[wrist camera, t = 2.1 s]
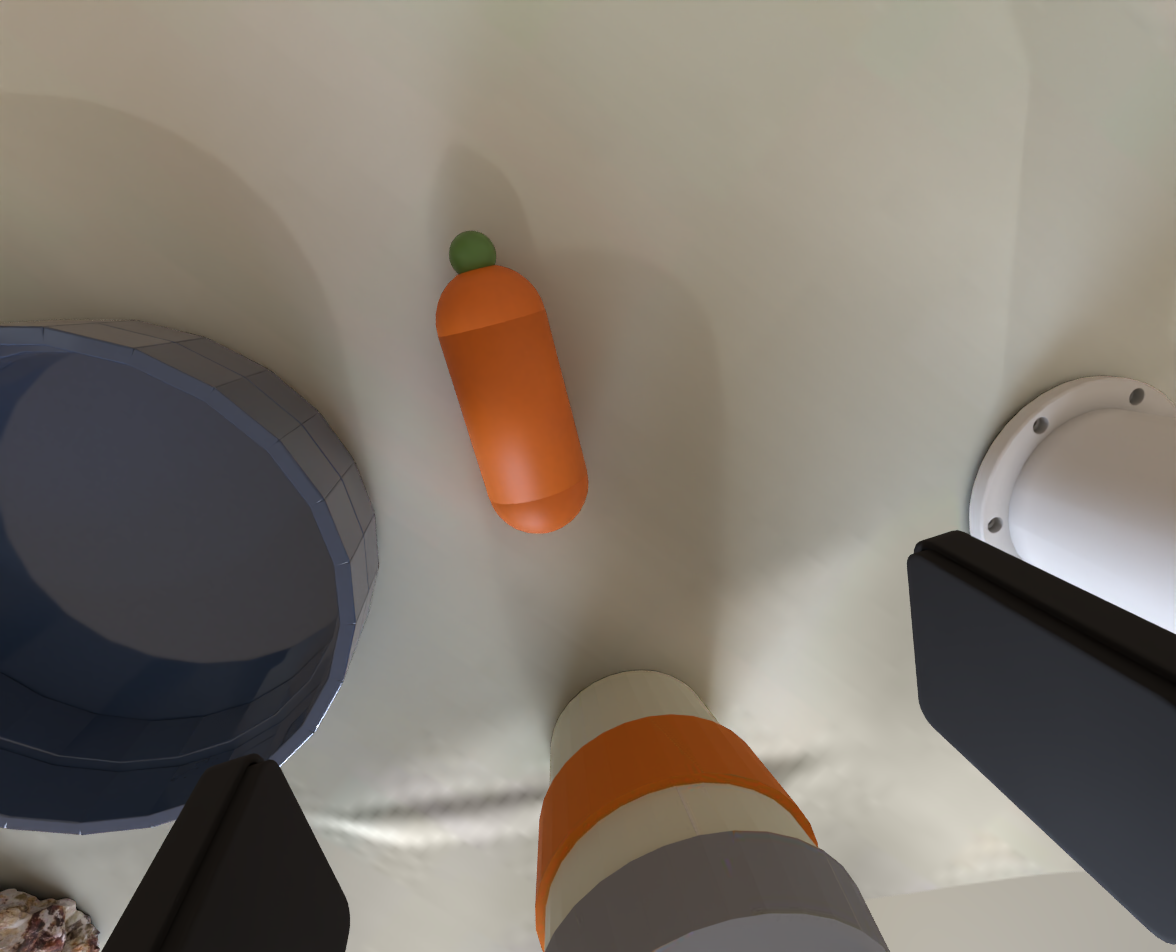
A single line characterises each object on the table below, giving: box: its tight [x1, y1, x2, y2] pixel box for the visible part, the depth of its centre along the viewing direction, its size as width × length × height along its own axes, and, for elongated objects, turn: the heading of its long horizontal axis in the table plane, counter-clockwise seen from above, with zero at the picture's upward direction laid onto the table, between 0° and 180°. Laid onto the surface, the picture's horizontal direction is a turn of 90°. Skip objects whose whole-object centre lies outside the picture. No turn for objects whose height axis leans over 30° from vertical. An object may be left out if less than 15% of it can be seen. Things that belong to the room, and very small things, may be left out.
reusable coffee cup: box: [535, 670, 890, 952], centre depth 27 cm, size 13×12×15 cm
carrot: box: [436, 231, 588, 534], centre depth 26 cm, size 13×4×4 cm, turn 14°
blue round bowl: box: [0, 319, 379, 835], centre depth 24 cm, size 19×19×6 cm
